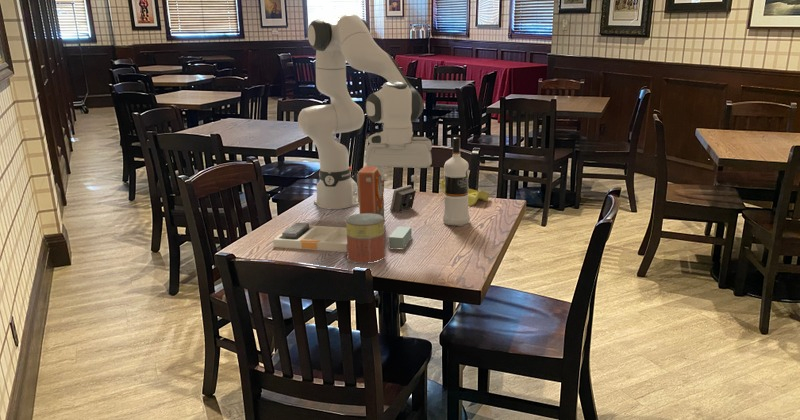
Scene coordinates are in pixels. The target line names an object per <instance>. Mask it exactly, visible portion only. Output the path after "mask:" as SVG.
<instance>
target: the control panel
mask: <svg viewBox="0 0 800 420" xmlns="http://www.w3.org/2000/svg"><path fill="white" fill-rule="evenodd" d="M382 170H383V171H384V169H382ZM356 183H357V192H358V203H359V208H358V209H359V214H361V213H374V214H379V215H382V216H383V217H384V222H385V221H386V220H385V207H384V206H385V200H384V199H385V198H384V191H385V181H382V180H381V175H380V173H379V172H378V168H377V167H369V166H368V165H367V164H366V165H364V166H363V167H362V168H360V169H359V171H357V174H356Z"/></svg>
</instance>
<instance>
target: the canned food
mask: <svg viewBox="0 0 800 420" xmlns="http://www.w3.org/2000/svg"><path fill="white" fill-rule="evenodd" d="M384 219H385V216H384V217H383V216H382V215H379V214H374V213H361V214H360V213H356V214H351V215H349V216H347V217H345V225H346V227H345V228H347V247H348V251H347V252H348V253H347V260H348V261H350V262H352V263H354V262H356V263H355V264H360V263H368V262H374V261H377V260H380V259H382V258H384V257H385V258H386V248H385V243H386V241H385V221H384ZM385 258H384V259H385ZM368 264H369V263H368Z"/></svg>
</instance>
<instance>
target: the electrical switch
mask: <svg viewBox="0 0 800 420" xmlns="http://www.w3.org/2000/svg"><path fill="white" fill-rule="evenodd" d="M416 191H417V190H416V189H414V188H413V185H411V184H409V185H405V186H401V187H398V188H394V190H393V193H392V199H391V202H390V203H391V204H390V208H389V210H390V212H391V213H392V212H396V213H397V214H400V213H403V212H405V211H409V210H412V209H411V208H413V206H414V205H413V204H414V201H415V196H416V193H417V192H416ZM402 211H403V212H402ZM399 212H400V213H399Z"/></svg>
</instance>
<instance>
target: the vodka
mask: <svg viewBox="0 0 800 420" xmlns="http://www.w3.org/2000/svg"><path fill="white" fill-rule="evenodd" d="M469 167H470V165H469V162H468V161H467V160H466V159H464V158H462V157H461V137H457V136H456V137H453V138H452V157H450V158H449V159H447V160H446V161H445V163H444V165H443V168H444V169H443V170H444V173H443V175H444V180H445V194H443V195H444V209H443V211H444V212H443V216H442V221H443V223H444V224H445V225H447V226H452V227H463V226H465V225H468V224H469V223H470V221H471V220H470V219H471V216H470V213H469V206H468V197H469V195H468V188H469Z"/></svg>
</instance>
